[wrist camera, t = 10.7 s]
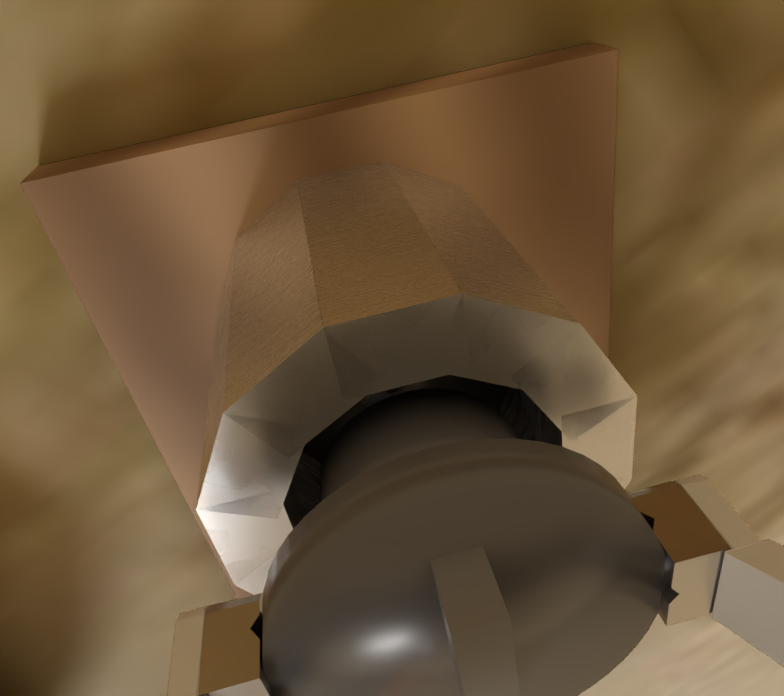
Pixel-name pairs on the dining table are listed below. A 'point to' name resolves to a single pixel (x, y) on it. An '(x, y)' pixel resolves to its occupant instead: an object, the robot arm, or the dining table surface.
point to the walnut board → (312, 158)
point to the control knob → (457, 562)
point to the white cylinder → (380, 345)
